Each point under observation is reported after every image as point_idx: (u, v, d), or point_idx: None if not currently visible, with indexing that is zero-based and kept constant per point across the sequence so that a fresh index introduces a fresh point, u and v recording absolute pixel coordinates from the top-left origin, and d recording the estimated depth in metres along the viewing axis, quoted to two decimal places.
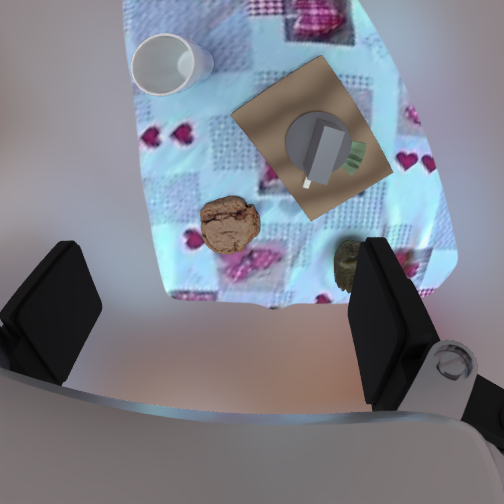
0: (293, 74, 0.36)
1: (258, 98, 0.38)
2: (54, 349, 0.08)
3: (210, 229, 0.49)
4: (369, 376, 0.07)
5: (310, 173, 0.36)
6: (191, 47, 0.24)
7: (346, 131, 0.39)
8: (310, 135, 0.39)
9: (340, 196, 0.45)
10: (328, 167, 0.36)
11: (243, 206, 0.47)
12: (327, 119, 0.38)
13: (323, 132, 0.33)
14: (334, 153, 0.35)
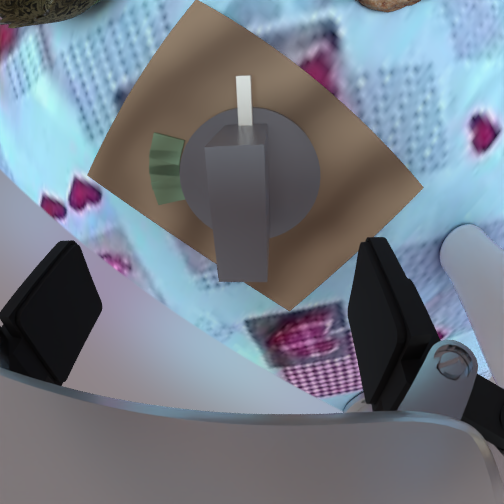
0: (327, 275, 0.24)
1: (379, 225, 0.22)
2: (54, 349, 0.08)
3: None
4: (369, 376, 0.07)
5: (262, 164, 0.13)
6: None
7: (205, 220, 0.21)
8: (272, 190, 0.20)
9: (156, 78, 0.17)
10: (221, 195, 0.14)
11: None
12: None
13: (265, 268, 0.16)
14: (221, 232, 0.15)
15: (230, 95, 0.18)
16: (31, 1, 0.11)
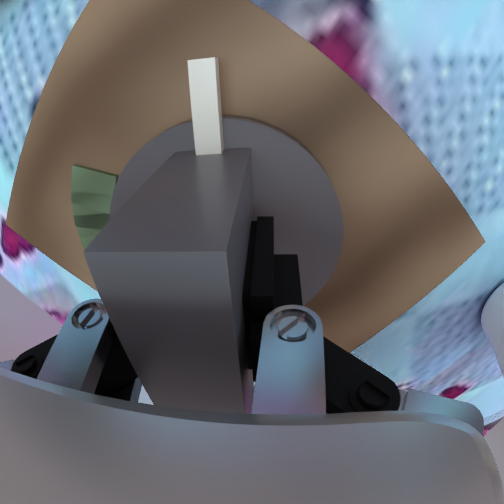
0: None
1: (419, 294, 0.14)
2: None
3: None
4: None
5: (224, 294, 0.05)
6: None
7: None
8: None
9: (69, 78, 0.09)
10: (142, 344, 0.06)
11: None
12: None
13: None
14: (159, 391, 0.07)
15: (185, 95, 0.10)
16: None
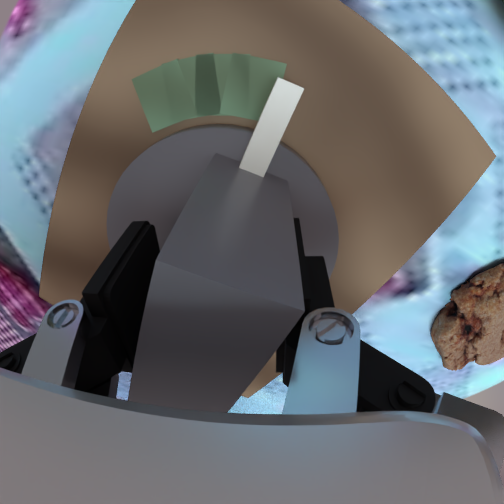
0: None
1: None
2: (135, 329, 0.08)
3: (492, 360, 0.17)
4: None
5: (276, 339, 0.06)
6: None
7: None
8: None
9: (391, 76, 0.09)
10: (162, 353, 0.06)
11: (454, 329, 0.16)
12: None
13: None
14: (145, 391, 0.07)
15: (353, 200, 0.12)
16: None
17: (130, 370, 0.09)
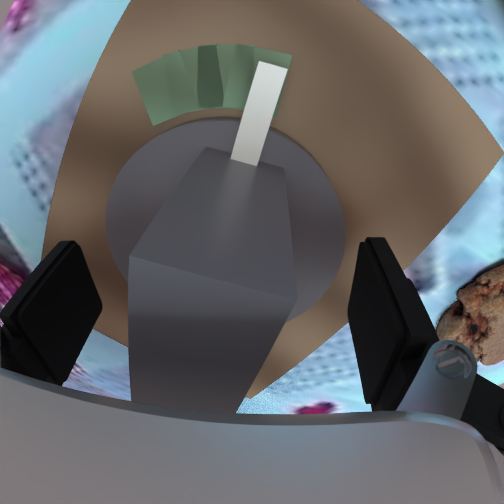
0: (104, 332, 0.16)
1: None
2: (54, 349, 0.08)
3: (497, 360, 0.16)
4: (368, 376, 0.07)
5: (271, 334, 0.05)
6: None
7: None
8: None
9: (399, 68, 0.08)
10: (155, 356, 0.06)
11: (460, 328, 0.15)
12: None
13: None
14: (146, 397, 0.07)
15: (359, 196, 0.11)
16: None
17: None
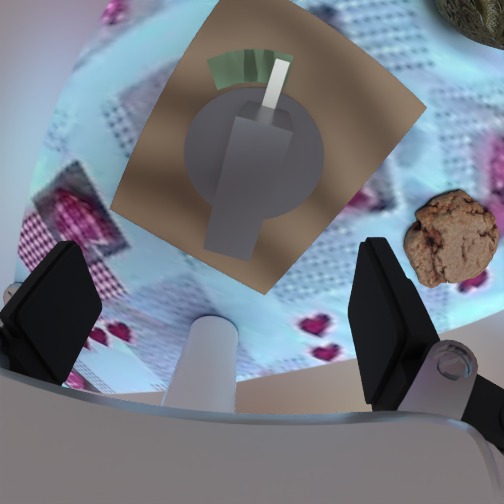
0: (160, 235, 0.24)
1: (222, 268, 0.26)
2: (54, 349, 0.08)
3: (459, 276, 0.24)
4: (369, 376, 0.07)
5: (284, 149, 0.13)
6: None
7: (197, 185, 0.21)
8: None
9: (352, 61, 0.16)
10: (234, 166, 0.14)
11: (418, 238, 0.23)
12: None
13: (252, 248, 0.16)
14: (222, 202, 0.15)
15: (332, 132, 0.19)
16: None
17: None
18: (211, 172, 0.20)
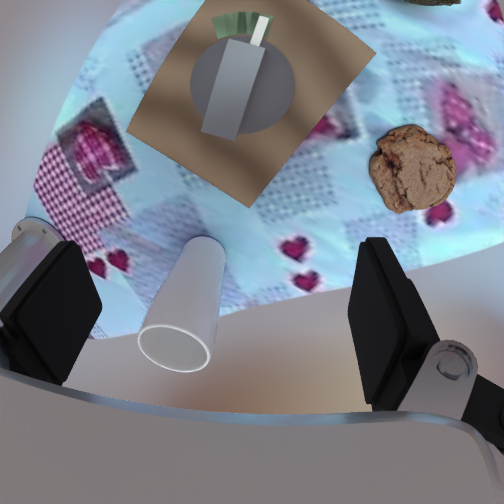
0: (165, 152, 0.29)
1: (214, 182, 0.30)
2: (54, 349, 0.08)
3: (421, 200, 0.29)
4: (368, 376, 0.07)
5: (259, 59, 0.18)
6: (142, 327, 0.25)
7: (198, 106, 0.25)
8: (254, 98, 0.25)
9: (316, 20, 0.21)
10: (226, 70, 0.18)
11: (379, 160, 0.28)
12: None
13: (236, 130, 0.21)
14: (217, 95, 0.19)
15: (302, 69, 0.24)
16: None
17: None
18: (210, 96, 0.25)
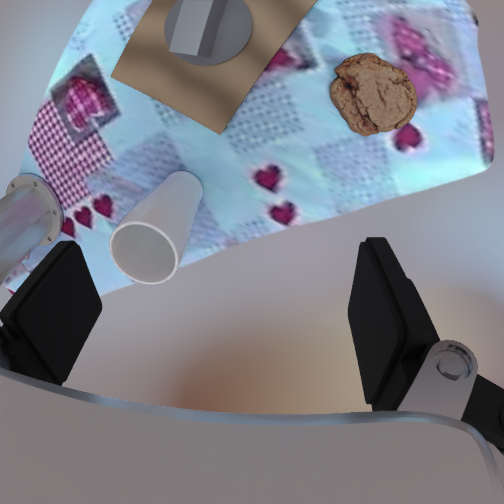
0: (144, 91, 0.30)
1: (187, 112, 0.31)
2: (54, 349, 0.08)
3: (383, 119, 0.30)
4: (369, 376, 0.07)
5: None
6: (114, 230, 0.25)
7: None
8: (218, 35, 0.25)
9: None
10: (188, 2, 0.19)
11: (337, 82, 0.29)
12: (196, 57, 0.27)
13: (198, 46, 0.21)
14: (181, 21, 0.20)
15: (258, 10, 0.25)
16: None
17: None
18: None
